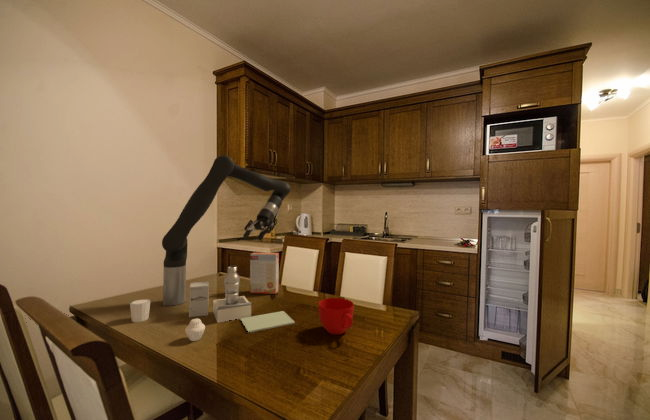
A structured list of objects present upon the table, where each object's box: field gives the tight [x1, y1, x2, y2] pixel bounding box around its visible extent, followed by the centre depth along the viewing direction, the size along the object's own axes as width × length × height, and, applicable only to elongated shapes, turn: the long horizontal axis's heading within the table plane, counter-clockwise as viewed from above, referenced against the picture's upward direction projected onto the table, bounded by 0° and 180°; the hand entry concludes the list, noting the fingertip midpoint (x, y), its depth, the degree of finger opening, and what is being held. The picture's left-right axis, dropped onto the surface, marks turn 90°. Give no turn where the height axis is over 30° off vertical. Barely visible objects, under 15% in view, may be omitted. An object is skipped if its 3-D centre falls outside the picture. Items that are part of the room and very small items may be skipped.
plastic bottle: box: [223, 265, 241, 306], centre depth 116 cm, size 6×7×20 cm
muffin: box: [184, 317, 206, 342], centre depth 94 cm, size 6×6×7 cm
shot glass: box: [129, 298, 151, 323], centre depth 110 cm, size 7×7×7 cm
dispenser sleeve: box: [212, 295, 252, 324], centre depth 116 cm, size 13×13×6 cm
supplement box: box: [188, 281, 210, 319], centre depth 117 cm, size 7×7×13 cm
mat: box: [239, 310, 296, 334], centre depth 109 cm, size 18×13×1 cm
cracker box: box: [249, 252, 280, 295], centre depth 147 cm, size 14×6×21 cm, turn 84°
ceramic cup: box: [318, 297, 355, 335], centre depth 100 cm, size 13×17×10 cm
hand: (251, 238), depth 127 cm, fingers open, 8 cm apart
